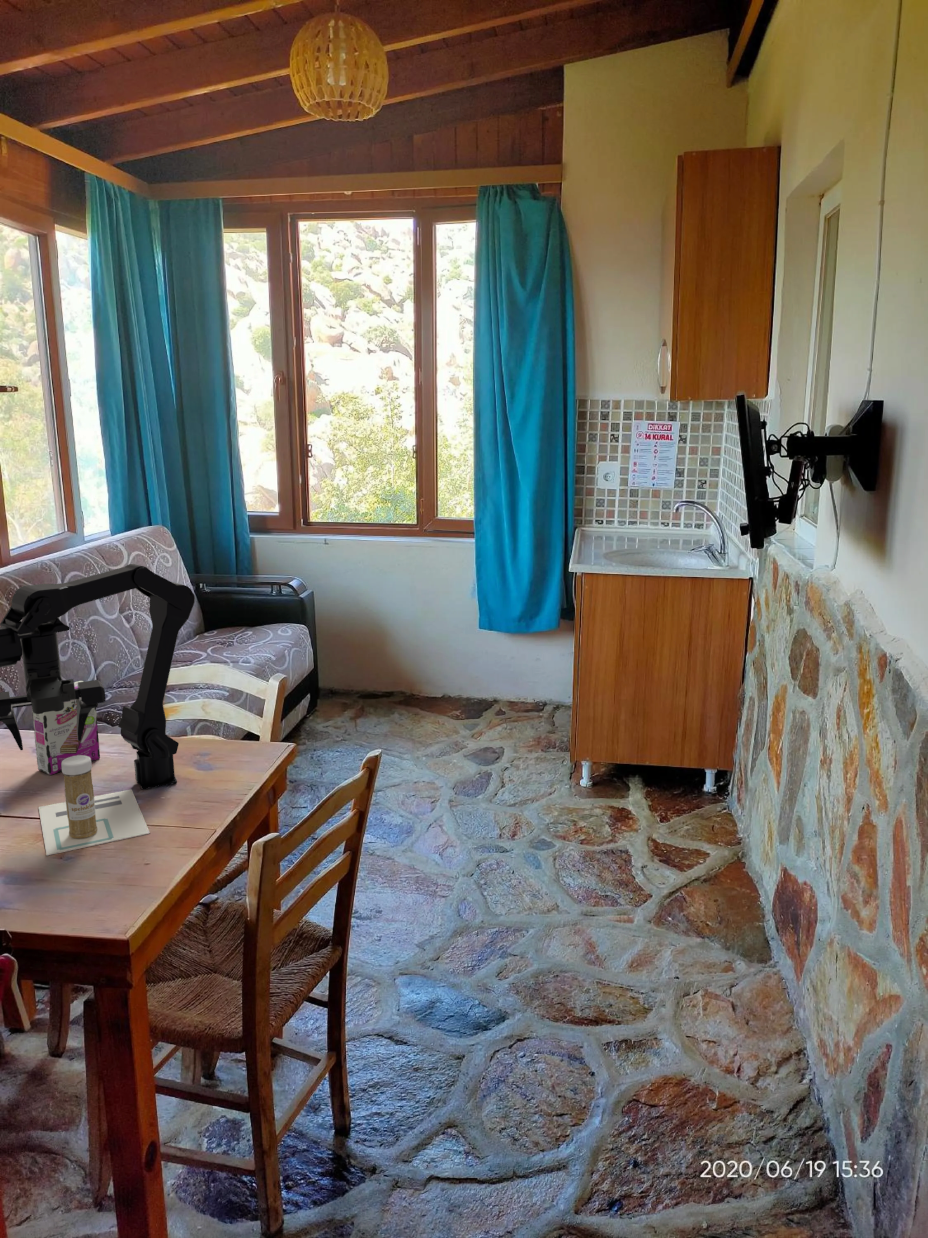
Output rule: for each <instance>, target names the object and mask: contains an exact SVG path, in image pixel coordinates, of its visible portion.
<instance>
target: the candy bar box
mask: <svg viewBox="0 0 928 1238" xmlns="http://www.w3.org/2000/svg"><path fill="white" fill-rule="evenodd" d="M78 682H85V681H84V680H78V681H74V687H75V689H76V688H78ZM31 712H32V713H31V714H32V722H33V730H34V731H33V732H34V743H35V745H34V746H35V751H36V752H35V754H36V762H37V763H36V765H37V769H38V770H39V772H43V773H45V774H46V775H48V776H51V775H52V776H53V775H54V774H57V773H61V772H62V765H61V763H62V761H63V760H64V759H66V758H68V757H72V756H77V755H85V756H88V757H90V758H91V762H94V761H96V760H100V759H101V755H100V739H99V738H100V737H99V728H98V715H97V707H96V708H92V709H91V711H90V712H89V714H88V717H87V719H86V722H85V726H84V730H83V734H82V738H81V741H78V738H77V699H75V700H70V701H68V702H64V709H63V710H61V711H57V712H55V711H50V712H44V713H42V714H35V713H33V711H32V710H31Z"/></svg>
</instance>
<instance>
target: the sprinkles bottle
mask: <svg viewBox="0 0 928 1238" xmlns="http://www.w3.org/2000/svg"><path fill="white" fill-rule="evenodd" d="M61 765H62V771H61V772H62V775H63V780H64V782H63V783H64V798H65V802H66V809H67V817H68V821H69V835H70V837H72V838H86V837H89V836H92V835H94V834H95V833H96V832H97V826H96V816H95V813H96V811H95V801H94V796H95V793H94V784H93V778H92V767H93V766H92V765H93V764H92V761H91V758H90V757H88V756H85V755H77V756H72V757H68V758H66V759H64V760H63V761H62V763H61Z"/></svg>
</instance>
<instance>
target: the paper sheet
mask: <svg viewBox="0 0 928 1238" xmlns="http://www.w3.org/2000/svg"><path fill="white" fill-rule="evenodd" d="M94 801H95V811H96V813H95V816H96V826H97V832H96V833H95V834H94V835H92V836H89V837H86V838H72V837H70V835H69V821H68V817H67V809H66V801H64V802H57V803H51V804H48V805H43V806H42V805H41V806H38V811H39V818H40V823H41V830H42V836H43V842H44V848H45V855H46V856H47V857H48V856H52V855H56V854H61V853H64V852H65V853H66V852H70V851H75V850H79V849H84V848H89V847H94V846H98V845H104V844H107V843H112V842H117V841H120V840H121V841H122V840H126V839H131V838H135V837H140V836H146V835H149V834H151V833H150V830H149V828H148V825H147V823H146V820H145V818H144V816H143V813H142V811H141V809H140V805H139V804H138V802H137V799H136V797H135V794H134V792H133V789H127V790H122V791H121V790H120V791H116V792H112V793H111V792H110V793H105V794H100V795H94Z"/></svg>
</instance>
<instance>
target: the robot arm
mask: <svg viewBox="0 0 928 1238" xmlns="http://www.w3.org/2000/svg"><path fill="white" fill-rule="evenodd" d="M134 589H135V590H137V591H138V592H139V593H141V594H142V595H144V596H145V597H147V598H148V599H149V605H148V606H149V607H148V609H149V610H148V611H149V617H150V619H151V624H152V625H151V626H152V628H151V632H150V637H149V641H148V646H147V652H146V655H145V660H144V664H143V668H142V674H141V679H140V682H139V688H138V691H137V697H136V699H135V701H134V702H133V703H132V705H131V706H126V705H124V706H123V707H122V710H121V719H120V722H119V724H118V728H120V736H121V738H122V739H123V740H124V742H126V743H128V744H130V745H131V748H132V750H136V751H135V752H136V759H134V760H133V762H134V763H133V764H134V776H135V781H136V783H137V785H139V786H140V788H141V790H149V789H154V788H159V787H164V786H165V787H166V786H169V785H174V784H177V783H178V779H177V778H176V776H175V764H174V755H176V754H177V752H178V749H179V742H178V741H176V740H175V739H173V738H172V737H171V736H169V735H167V734H166V733H167V731H166V730H167V717H166V713H165V708H164V700H165V695H166V691H167V687H168V681H169V677H170V673H171V667H172V664H173V659H174V655H175V649H176V646H177V645H176V644H177V639H178V636H179V633H180V630H181V629H182V628H183V626H184V625H185V624H186V623H187V621H188V620H189V619H190V615H191V613H192V610H193V608H194V606H195V601H196V597H195V593H194V592H193V591H192V589H191V588H190V587H189V586H188V585H185V584H182V583H177V582H173V581H170V580H168V579H167V578H164V576H163V577H162V576H160V575H158V574H157V573H155V572H153V571H152V570H150V569H149V568H148V567H147V566H144V565H140V564H136V563H129V564H127V565H125V566H123V567H120V568H115V569H112V570H109V571H105V572H102V573H97V574H93V575H90V576H86V577H83V578H80V579H75V580H72V581H69V582H63V583H41V584H39V583H38V584H30V585H24V586H21V587H19V588H18V589H16V590H15V593H14V594H13V595H12V599H11V606H10V607H9V608H8V610H7V611H6V613H5V614H4V615H5V616H4V617H3V618H2V620H1V622H0V668H5V667H11V666H16V665H17V663H18V662H20V661H21V659H22V666H23V675H24V676H23V677H24V682H25V691H26V694H23V695H16V696H10V691H8V690H7V691H3V692H0V722H2V723H3V724H4V725H5V726H6V728H7V729H8V730H9V731H10V733H11V735H12V738H13V739H14V741H15V742H16V744H17V747H18V748H19V750H20V751H23V750H24V745H23V740H22V736H21V735H22V734H21V732H20V728H19V724H18V722H17V716H16V713H15V709H17V708H23V707H30V706H31V712H32V711H33V713H35V714H42V713H44V712H50V711H55V712H57V711H61V710H63V709H64V702H68V701H70V700H75V699H77V738H78V741H81V738H82V734H83V730H84V726H85V722H86V719H87V717H88V714H89V712H90V711H91V709H92V708H96V709H97V707H98V706H99V704H102V703H105V702H106V700H107V699H106V692H105V687H104V685H103V683H102V682H101V681H100V680H99V679H94V680H86V681H85V682H78V688H76V689H75V687H74V682H75V681H74V678H71V679H63V678H62V677H63V675H62V669H61V667H62V666H61V659H60V650H59V648H60V647H59V640H58V633H62V632H68V631H70V629H71V628H70V626H69V625H66V624H65V623H63V622H62V621H61V619H60V618H61V617H63V616H65V615H66V614H67V613H69V612H70V611H71V610H72V609H74V608H76V607H77V606H80V605H84V604H87V603H90V602H94V601H97V600H101V599H103V598H107V597H110V596H114V595H118V594H122V593H124V592H128V591H132V590H134Z"/></svg>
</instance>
